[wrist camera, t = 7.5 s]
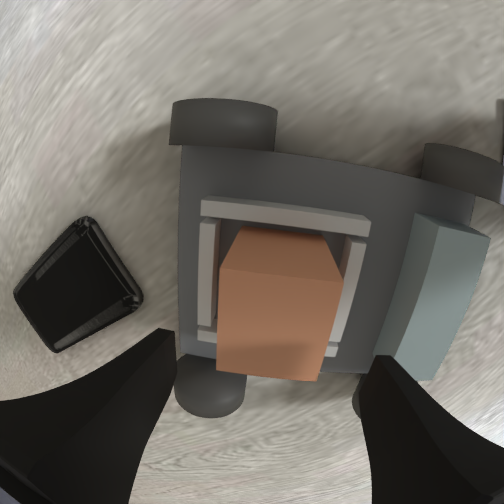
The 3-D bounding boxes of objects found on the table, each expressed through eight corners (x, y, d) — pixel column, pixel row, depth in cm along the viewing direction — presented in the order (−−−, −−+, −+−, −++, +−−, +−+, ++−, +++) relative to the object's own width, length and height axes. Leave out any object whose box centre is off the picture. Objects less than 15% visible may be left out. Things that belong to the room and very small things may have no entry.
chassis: (471, 163, 14) (520, 172, 9) (400, 382, 20) (417, 425, 15) (191, 112, 15) (155, 99, 10) (185, 363, 21) (165, 408, 16)
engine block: (322, 235, 16) (344, 282, 10) (308, 313, 17) (316, 381, 12) (241, 225, 16) (219, 268, 10) (235, 304, 18) (216, 370, 12)
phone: (144, 305, 19) (53, 355, 23) (151, 298, 20) (59, 349, 24) (82, 211, 17) (10, 292, 21) (91, 207, 18) (16, 287, 22)
